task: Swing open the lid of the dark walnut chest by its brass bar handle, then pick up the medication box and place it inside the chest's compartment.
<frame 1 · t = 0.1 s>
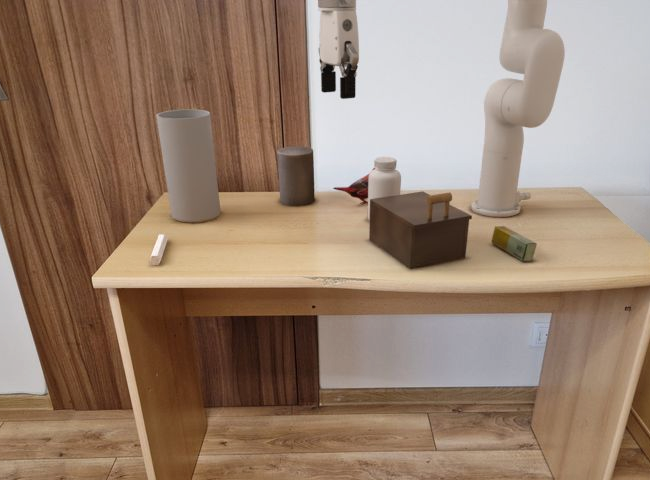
hand: (338, 94, 131), 31 cm above the table, tool pointing down, fingers open, 9 cm apart
medication box: (511, 253, 137), on the table
cylinder vase: (196, 216, 161), on the table
lid: (419, 197, 133), point 12 cm above the table, hinge at 0.0°
chest: (415, 249, 139), on the table
white rectangular bar: (160, 252, 139), on the table
pillar candle: (297, 202, 170), on the table
pill bottle: (383, 220, 156), on the table
decorative bird figurine: (360, 206, 167), on the table
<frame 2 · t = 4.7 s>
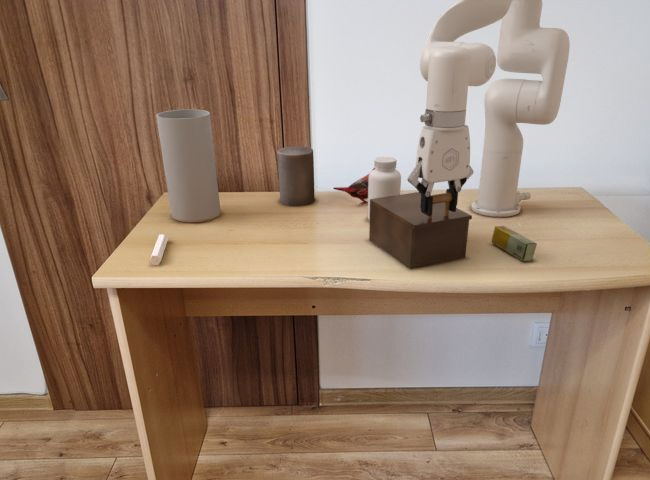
hand: (438, 211, 127), 11 cm above the table, tool pointing down, fingers closed on lid, 5 cm apart
lid: (419, 197, 133), point 12 cm above the table, hinge at 0.0°, touching gripper
everything else where it was.
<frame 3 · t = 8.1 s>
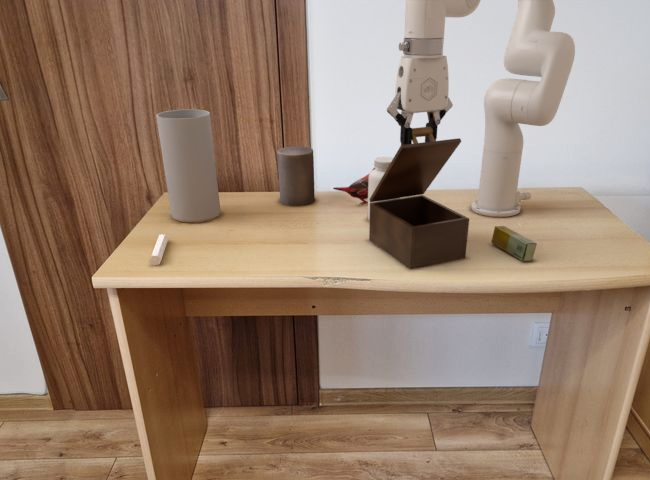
hand: (418, 144, 128), 23 cm above the table, tool pointing down, fingers closed on lid, 5 cm apart
lid: (409, 162, 133), point 18 cm above the table, hinge at 47.4°, touching gripper
everything else where it was.
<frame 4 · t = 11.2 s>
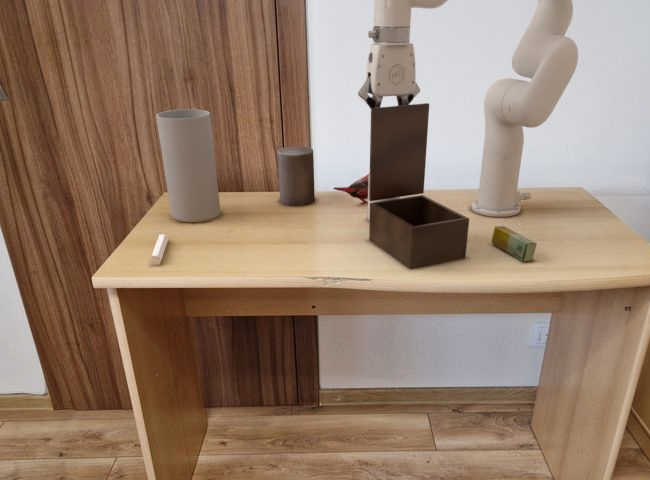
hand: (388, 126, 138), 24 cm above the table, tool pointing down, fingers closed on lid, 5 cm apart
lid: (393, 150, 138), point 19 cm above the table, hinge at 89.6°, touching gripper
everything else where it was.
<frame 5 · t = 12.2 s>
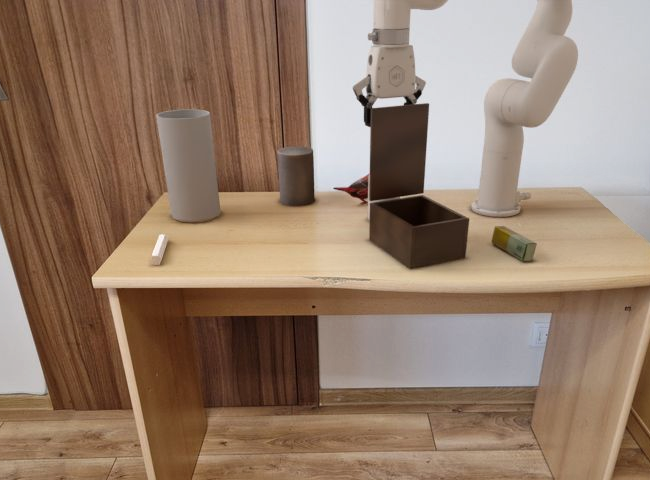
hand: (388, 124, 138), 24 cm above the table, tool pointing down, fingers open, 9 cm apart
lid: (393, 150, 138), point 19 cm above the table, hinge at 89.7°
everything else where it was.
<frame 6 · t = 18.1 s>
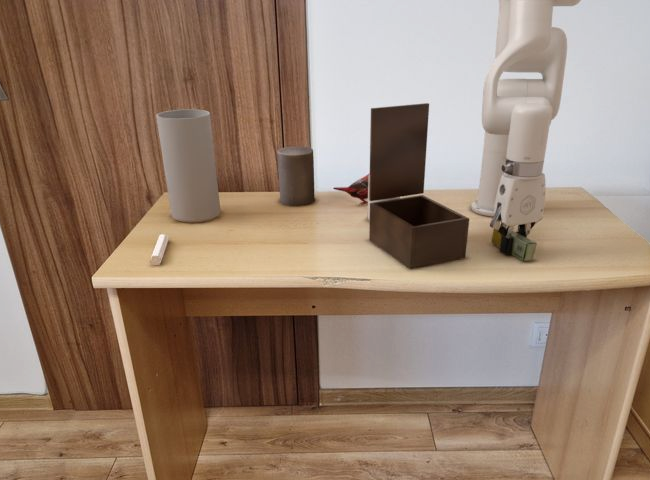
hand: (512, 251, 136), 0 cm above the table, tool pointing down, fingers closed on medication box, 3 cm apart
medication box: (512, 252, 137), on the table, touching gripper
everything else where it was.
when the fingers open (7 cm above the table, at t = 24.6 s): medication box drops 4 cm, resting on chest.
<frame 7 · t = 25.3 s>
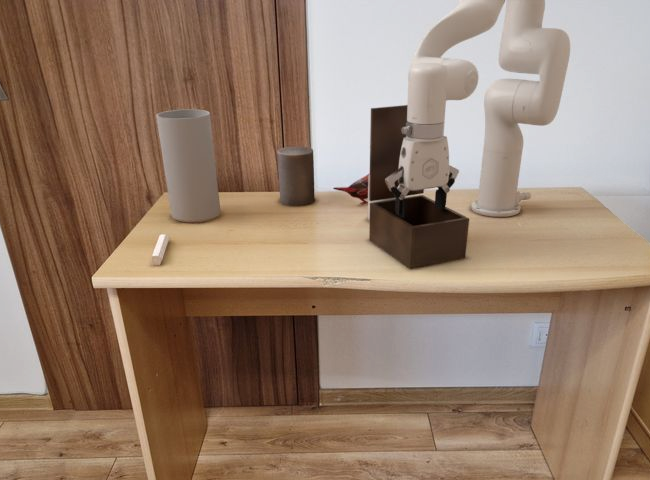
hand: (420, 212, 134), 9 cm above the table, tool pointing down, fingers open, 9 cm apart
medication box: (422, 240, 137), point 2 cm above the table, touching chest
everything else where it was.
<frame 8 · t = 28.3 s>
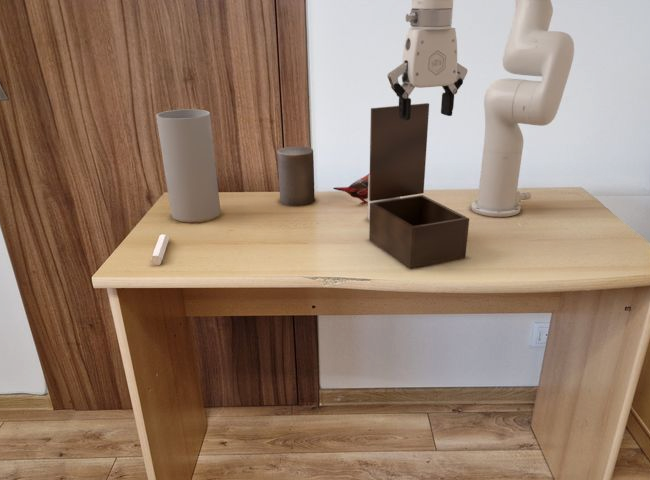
hand: (425, 116, 124), 28 cm above the table, tool pointing down, fingers open, 9 cm apart
nothing on the table moved.
at the end: lid at +90° (first picture: +0°); medication box inside the target area in the chest (1.4 cm from its centre), point 2.1 cm above the chest's base; the gripper is holding nothing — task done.
